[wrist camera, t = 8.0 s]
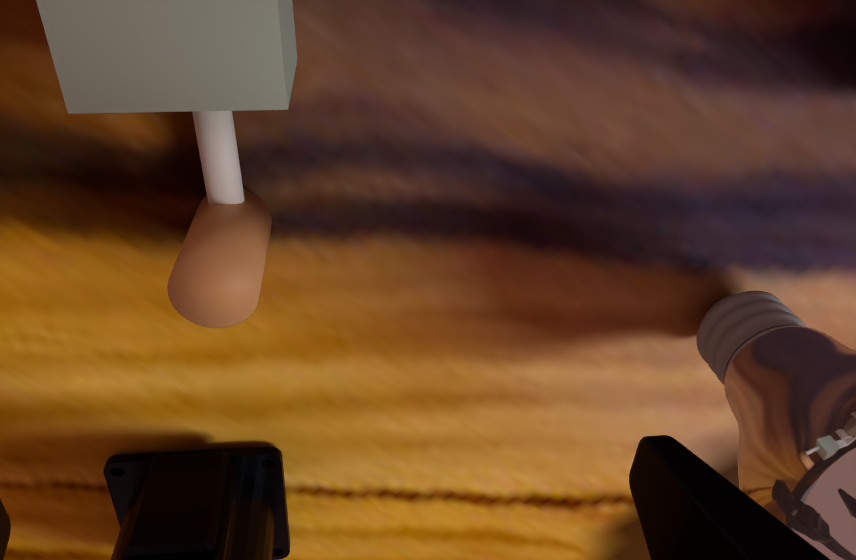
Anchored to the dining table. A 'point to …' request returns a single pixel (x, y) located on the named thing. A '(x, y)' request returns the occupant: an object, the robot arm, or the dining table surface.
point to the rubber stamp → (211, 107)
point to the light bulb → (789, 415)
